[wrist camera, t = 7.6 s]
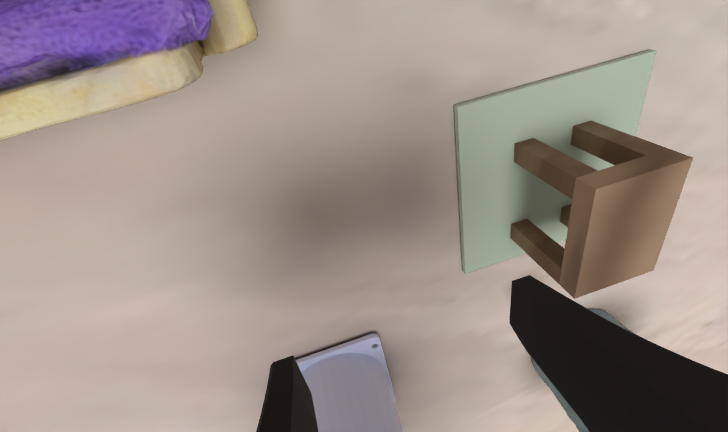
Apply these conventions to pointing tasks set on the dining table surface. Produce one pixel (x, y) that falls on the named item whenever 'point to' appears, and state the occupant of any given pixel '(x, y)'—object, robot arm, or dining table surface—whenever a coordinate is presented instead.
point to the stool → (603, 206)
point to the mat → (547, 124)
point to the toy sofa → (106, 53)
